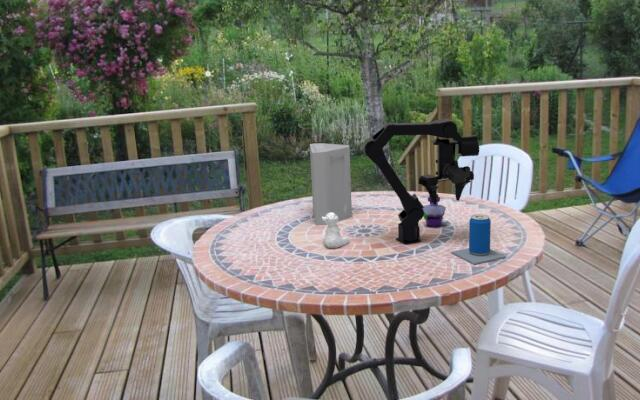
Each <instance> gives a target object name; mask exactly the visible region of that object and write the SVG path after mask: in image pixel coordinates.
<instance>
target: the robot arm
mask: <svg viewBox="0 0 640 400" xmlns="http://www.w3.org/2000/svg"><path fill="white" fill-rule="evenodd" d="M394 136H433V137H435V138H434V139H433V140H432V141H431V144H432V145H433V146H437V159H435V163H436V164H437V171H435V175H432V174H423V175H420V176H419V177H418V184H419V185H421V186H422V187H424V188H425V189H426V191H427V192H428V196H429V195H430V197H431V199H432V202H433V204H434V205H436V203H437V194H438V193H437V191H438V189H439V186H438V184H439V182H440V183H441V182H446V181H450V182H451V183H452V184H454V185H453V186H454V195H455V196H454V197H455V200H456V201H457V202H458V201H460V199H461V197H462V195H463V191H464V189H465V187H466V186H467V185H468V184H469V183H471V181H474V180H475V174H474V172H473V171H472V170H471V167H470V166H469V165H466V166H463V167H462V166H459V161H458V160H456V154H458V155H459V156H460V157H462V158H463V157H477V156H478V157H479V154H480V146H479V140H478V136H477V135H476V134H475V135H474V134H473V135H465V136H464V135H463V136H462V135H461V134H460V133H459V131H458V127H457V124H456V123H455V122H454V121H452V120H451V119H449V118H441V119H435V120H432V121H427V122H386V123H385V125H384V126H383V127H382V128H381V129H379V130H378V131H377V132H376V133H374V134H373V135H372V137H368V138H366V139H365V140H363V144H362V149H363V151H364V153H365V155H366V156H367V157H368V159H370V161H371V162H373V163H374V164H375V165H376V166H377V168H379V170H380V171H381V173H382V174H383V176H384V178H385V180H386V181H387V182H388V184H389V185H390V186H391V188H392V190H393V191H394V193H395V194H396V196H397V198H399V201H400V204H401V207H402V208H403V210H401V211H400V213H399V214H398V215H397V217H398V218H399V221H400V223H397V233H398V235H397V236H398V237H396V238H395V241H398V242H400V243H402V244H404V245H409V244H414V243H415V244H416V243H420V242H422V239H420V230H421V228H420V226H419V222H420V221H421V220H422V219H423V218H424V217H423V215H424V211H423V209H422V208H424V206H425V205H423V203H422V202H421V201H420V200H419V198H418V196H417V193H413V194H412V195H411V194H410V193H409V191H408V190H407V188H406V187H405V185H404V183H402V181H401V180H400V178H399V176H398V175H397V173H396V172H395V171H394V170H395V169H393V167H392V166H391V165H390V163H389V161H388V159H387V157H386V153H385V151H384V149H383V148H384V147H385V146H386V145H388V143H389V142H390V140H391V139H392V138H393V137H394ZM450 139H452V140H450Z"/></svg>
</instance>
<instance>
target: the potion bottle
mask: <svg viewBox="0 0 640 400" xmlns="http://www.w3.org/2000/svg"><path fill="white" fill-rule="evenodd" d="M440 201H441V197H440V196H439V194H438V193H437V203H436V205H434V204H433V202H432V199H431V197H430V195H429V194H428V197H427V202H428V203H429V204H425V205H423V206H424V208H422V209H423V211H424V215H423V218H424V220H425V224H426V227H428V228H431V229H432V228H433V229H437V228H441V227H442V223H443V219H444V215H445V212H446V208H447V207H446V206H444V205H442V204H439V202H440Z"/></svg>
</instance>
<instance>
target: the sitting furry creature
mask: <svg viewBox="0 0 640 400" xmlns="http://www.w3.org/2000/svg"><path fill="white" fill-rule="evenodd" d="M322 220H323V221H325V223H326V224H327V225H326V226H327V227H326V229H325V235H324V236H323V238H322V242H323V244H324V246H325V247H326V248H328V249H339V248H340V247H342V246H344V245H348V244H349V243H350V241H351V238H350V237H347V236H345V235H344V236H342V237H341V235H340V234H341V228H340V227H339V225H338V223H339V221H338V216H337V215H336V214H334V213H333V212H332V213H328V214H326V216H325V217H322Z"/></svg>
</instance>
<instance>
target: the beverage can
mask: <svg viewBox="0 0 640 400" xmlns="http://www.w3.org/2000/svg"><path fill="white" fill-rule="evenodd" d="M491 223H492V220H491V218H490V216H489V215H487V214H484V213H483V214H481V213H476V214H473V215H471V216H470V219H469V223H468V225H469V230H468V238H469V239H468V248H469V251H470V252H471V253H472V254H474V255H480V256H481V255H486V254H487V253H489V252H490V249H491V227H492V226H491Z"/></svg>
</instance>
